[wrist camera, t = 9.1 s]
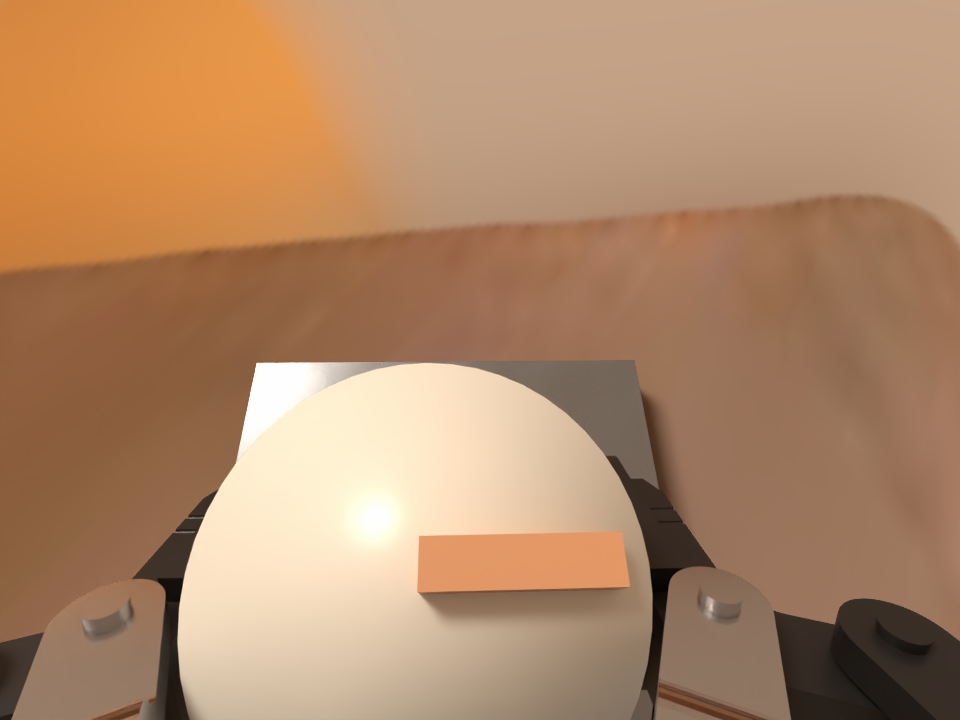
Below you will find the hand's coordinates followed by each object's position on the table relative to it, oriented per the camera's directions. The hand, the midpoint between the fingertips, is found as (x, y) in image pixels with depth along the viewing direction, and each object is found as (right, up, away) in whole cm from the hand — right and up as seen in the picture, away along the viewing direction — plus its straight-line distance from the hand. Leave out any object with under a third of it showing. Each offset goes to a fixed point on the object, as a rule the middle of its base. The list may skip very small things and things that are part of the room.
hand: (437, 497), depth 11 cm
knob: (0, -4, +4) cm, 6 cm away
